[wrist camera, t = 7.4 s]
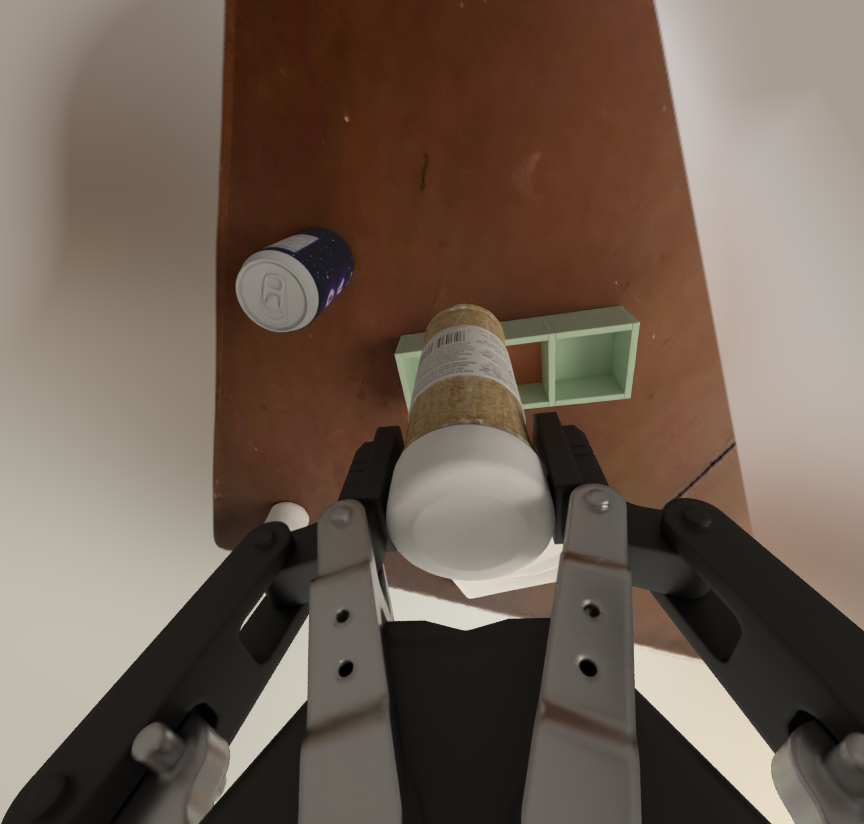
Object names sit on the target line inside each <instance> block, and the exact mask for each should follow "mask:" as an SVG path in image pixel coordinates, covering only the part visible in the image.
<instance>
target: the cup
mask: <svg viewBox="0 0 864 824" xmlns="http://www.w3.org/2000/svg"><path fill="white" fill-rule="evenodd" d="M272 521H280V522H284V523H285V524H287V525H288V527H289V529H290V531H293V530H296V529H299V528H303V527H306V526H307V525H308V522H309V517H308V514H307V512H306V510H305V509H304V508H303V507H301V506H300V505H297V504H295V503H292V502H280V503H278V504H276V505H274V506H273V507H272V509H271V511H270V513H269V515H268V517H267V519H266V521H265V522H264V523H267V522H272ZM263 595H266V594H265V593H264V594H263Z"/></svg>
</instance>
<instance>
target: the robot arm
mask: <svg viewBox="0 0 864 824" xmlns="http://www.w3.org/2000/svg"><path fill="white" fill-rule="evenodd" d="M404 446H405V445H404V441H403V437H402V433H401V429H400V427H399V426H389V427H379V428H378V429H377V431H376V434H375V438H374V441H373V442H365V443H364V444H363V445H362V446H361V447H360V448H359V449H358V450H357V451H356V453H355V456H354V458H353V461H352V464H351V467H350V469H349V473H348V475H347V477H346V480H345V483H344V485H343V488H342V491H341V494H340V496H339V499H338V502H335V503H333V504H331V505H330V506H328V507H327V508H326V509H325V510H324V511H323V512H322V513H321V514H320V516H319V518H318V522H317V523H314V524H312V525H309V526H306V527H303V528H299V529H296V530H293V531H290V529H289V527H288V525H287V524H285V523H284V522H280V521H272V522H267V523H264V524H262V525H260V526H258V527H256V528H255V529H253V530H252V531H251V532H250V533H248V534H247V535H246V537H245V538H244V539H243V540H242V541H241V542H240V543H239V544H238V546H237V547H236V548H235V549H234V550H233V551H232V552H231V553H230V555H229V556H228V557H227V558H226V559H225V560H224V561H223V563H222V564H221V565H220V566H219V567H218V568H217V569H216V570H215V572H214V573H213V574H212V575H211V576H210V577H209V578H208V579H207V581H206V582H205V583H204V584H203V585H202V586H201V587H200V588H199V590H198V591H197V592H196V593H195V594H194V595H193V596H192V597H191V599H190V600H189V601H188V602H187V603H186V604H185V605H184V607H183V608H182V609H181V610H180V611H179V612H178V613H177V614H176V616H175V617H174V618H173V619H172V620H171V621H170V622H169V623H168V625H167V626H166V627H165V628H164V629H163V630H162V632H160V634H159V635H158V636H157V637H156V638H155V639H154V640H153V642H152V643H151V644H150V645H149V646H148V647H147V648H146V649H145V651H144V652H143V653H142V654H141V655H140V656H139V657H138V658H137V660H136V661H135V662H134V663H133V664H132V665H131V666H130V667H129V669H128V670H127V671H126V672H125V673H124V674H123V675H122V676H121V678H120V679H119V680H118V681H117V682H116V683H115V684H114V685H113V687H112V688H111V689H110V690H109V691H108V692H107V693H106V695H105V696H104V697H103V698H102V699H101V700H100V701H99V702H98V704H97V705H96V706H95V707H94V708H93V709H92V710H91V711H90V713H89V714H88V715H87V716H86V717H85V718H84V719H83V720H82V722H81V723H80V724H79V725H78V726H77V727H76V728H75V730H74V731H73V732H72V733H71V734H70V735H69V736H68V738H67V739H66V740H65V741H64V742H63V743H62V744H61V746H59V748H58V749H57V750H56V751H55V752H54V753H53V754H52V756H51V757H50V758H49V759H48V760H47V761H46V762H45V763H44V765H43V766H42V767H41V768H40V769H39V770H38V771H37V773H36V774H35V775H34V776H33V777H32V778H31V779H30V780H29V781H28V783H27V784H26V785H25V786H24V787H23V789H22V790H21V791H20V792H19V794H18V795H17V797H16V798H15V799H14V801H13V802H12V804H11V806H10V807H9V809H8V811H7V812H6V814H5V816H4V818H3V821H2V823H1V824H771V823H770V822H769V821H768V820H767V819H766V818H765V817H764V816H763V815H762V814H761V813H760V812H759V811H758V810H757V809H756V808H755V807H754V806H753V805H752V804H751V803H750V802H749V801H748V800H747V799H746V798H745V797H744V796H743V795H742V794H741V793H740V792H739V791H738V790H737V789H736V788H735V787H734V786H733V785H732V784H731V783H730V782H729V781H728V780H727V779H726V778H725V777H724V776H723V775H722V774H721V773H720V772H719V771H718V770H717V769H716V768H715V767H714V766H713V765H712V764H711V763H710V762H709V761H708V760H707V759H706V758H705V757H704V756H703V755H702V754H701V753H700V752H699V751H698V750H697V749H696V748H695V747H694V746H693V745H692V744H691V743H690V742H688V740H687V739H686V738H685V737H684V736H683V735H682V734H681V733H680V732H679V731H678V730H677V729H675V727H673V725H672V724H671V723H670V722H669V721H668V720H667V719H666V718H665V717H664V716H663V715H662V714H661V713H660V712H659V711H658V710H657V709H656V708H655V707H653V705H651V704H650V703H649V701H648V700H647V699H646V698H644V697H643V696H642V695H641V694H640V693H639V692H638V691H637V690H636V689H635V684H634V683H635V680H634V643H633V606H632V586H635V587H639V588H643V589H647V590H650V592H651V593H652V595H653V596H654V597H655V599H656V600H657V601H658V603H659V604H660V605H661V606H662V608H663V609H664V610H665V612H666V613H667V614H668V616H669V617H670V618H671V619H672V621H673V622H674V623H675V625H676V626H677V627H678V628H679V630H680V631H681V632H682V634H683V635H684V636H685V638H686V639H687V640H688V641H689V643H690V644H691V645H692V647H693V648H694V649H695V651H696V652H697V653H698V654H699V656H700V657H701V658H702V660H703V661H704V662H705V664H706V665H707V666H708V667H709V669H710V670H711V671H712V673H713V674H714V675H715V677H716V678H717V679H718V680H719V682H720V683H721V684H722V685H723V687H724V688H725V689H726V691H727V692H728V693H729V695H730V696H731V697H732V698H733V700H734V701H735V702H736V704H737V705H738V706H739V708H740V709H741V710H742V711H743V713H744V714H745V715H746V717H747V718H748V719H749V721H750V722H751V723H752V725H753V726H754V727H755V728H756V730H757V731H758V732H759V734H760V735H761V736H762V737H763V739H764V740H765V741H766V743H767V744H768V745H769V747H770V748H771V749H772V750H773V752H774V753H775V755H774V757H773V760H772V764H771V772H772V778H773V782H774V785H775V787H776V790H777V792H778V794H779V796H780V798H781V800H782V802H783V803H784V805H785V807H786V808H787V810H788V812H789V813H790V815H791V817H792V819H793V821H794V823H795V824H864V631H863V630H862V629H861V628H859V627H858V626H857V625H856V624H855V623H853V622H852V621H851V620H850V619H849V618H848V617H846V616H845V615H844V614H843V613H842V612H840V611H839V610H838V609H837V608H836V607H834V606H833V605H832V604H831V603H830V602H829V601H827V600H826V599H825V598H824V597H822V596H821V595H820V594H819V593H818V592H817V591H815V590H814V589H813V588H812V587H811V586H809V585H808V584H807V583H806V582H805V581H803V580H802V579H801V578H800V577H799V576H798V575H796V574H795V573H794V572H793V571H792V570H790V569H789V568H788V567H787V566H786V565H785V564H783V563H782V562H781V561H780V560H779V559H778V558H776V557H775V556H774V555H773V554H771V553H770V552H769V551H768V550H767V549H766V548H764V547H763V546H762V545H761V544H760V543H759V542H757V541H756V540H755V539H754V538H753V537H751V536H750V535H749V534H748V533H747V532H745V531H744V530H743V529H742V528H741V527H740V526H738V525H737V524H736V523H735V522H734V521H732V520H731V519H730V518H729V517H728V516H726V515H725V514H724V513H723V512H722V511H720V510H719V509H718V508H716V507H714V506H713V505H711V504H709V503H706V502H703V501H700V500H696V499H691V498H679V499H675V500H672V501H670V502H668V503H667V504H666V505H665V507H664V509H663V510H658V509H653V508H647V507H641V506H637V505H634V504H631V503H629V502H626V501H625V499H624V497H623V496H622V495H621V494H620V493H619V492H618V491H616V490H615V489H613V488H611V487H609V485H608V483H607V481H606V479H605V476H604V474H603V472H602V470H601V468H600V466H599V464H598V462H597V459H596V457H595V455H594V454H593V451H592V449H591V447H590V446H589V442H588V440H587V438H586V436H585V434H584V433H583V432H582V431H581V430H579V429H578V428H577V427H575V426H574V425H568V426H561V423H560V420H559V418H558V415H557V413H556V412H548V413H537V414H533V451H534V452H535V453H536V454H537V456H538V457H539V459H540V461H541V463H542V465H543V467H544V470H545V474H546V477H547V481H548V484H549V488H550V491H551V496H552V500H553V504H554V508H555V519H556V525H555V529H554V533H553V540H554V544H563V550H562V552H561V554H560V559H559V566H558V573H557V579H556V586H555V593H554V600H553V607H552V614H551V618H524V619H506V620H503V621H500V622H496V623H493V624H489V625H486V626H482V627H479V628H476V629H472V630H468V631H464V630H459V629H455V628H451V627H447V626H443V625H440V624H436V623H431V622H428V621H394V617H393V611H392V606H391V601H390V595H389V589H388V584H387V578H386V573H385V568H384V565H383V561H384V556H385V552H386V551H396V547H395V546H394V544H393V542H392V541H391V538H390V536H389V533H388V531H387V526H386V509H387V502H388V497H389V491H390V486H391V481H392V476H393V472H394V468H395V466H396V463H397V462H398V460H399V458H400V456H401V453H402V451H403V450H404ZM264 593H265V594H266V596H265V597H264V599H263V600H262V601H261V603H260V604H259V606H258V607H257V608H256V610H255V611H254V612H253V614H252V615H251V617H250V618H249V620H248V621H247V622H246V624H245V625H244V626H243V628H242V629H241V626H242V624H243V622H244V620H245V619H246V617H247V616H248V615H249V613H250V612H251V611H252V609H253V608H254V606H255V605H256V604H257V602H258V601H259V600H260V598H261V597H262V595H263V594H264ZM308 615H309V648H308V700H307V701H306V702H305V703H304V704H303V705H302V706H301V707H300V709H299V710H298V711H297V712H296V713H295V714H294V716H293V717H292V718H291V719H290V720H289V721H288V722H287V723H286V725H285V726H284V727H283V728H282V729H281V730H280V731H279V733H278V734H277V735H276V736H275V737H274V738H273V739H272V740H271V742H270V743H269V744H268V745H267V746H266V747H265V748H264V750H263V751H262V752H261V753H260V754H259V755H258V756H257V758H256V759H255V760H254V761H253V762H252V763H251V764H250V765H249V767H248V768H247V769H246V770H245V771H244V772H243V773H242V775H241V776H240V777H239V778H238V779H237V780H236V781H235V782H234V784H233V785H232V786H231V787H230V788H229V789H228V790H227V792H226V793H225V794H224V795H223V796H222V797H221V798H220V800H219V801H218V802H217V803H216V804H215V805H214V802H215V801H216V800H217V799H218V798H219V797H220V796H221V794H222V792H223V790H224V787H225V785H226V773H227V770H228V766H229V760H230V750H229V745H230V744H231V742H232V741H233V739H234V737H235V736H236V734H237V732H238V731H239V729H240V727H241V726H242V724H243V722H244V721H245V719H246V717H247V716H248V714H249V712H250V711H251V709H252V708H253V706H254V704H255V703H256V701H257V699H258V698H259V696H260V694H261V693H262V691H263V689H264V688H265V686H266V684H267V683H268V681H269V679H270V678H271V676H272V674H273V673H274V671H275V669H276V667H277V666H278V664H279V663H280V661H281V659H282V658H283V656H284V654H285V653H286V651H287V649H288V648H289V646H290V644H291V643H292V641H293V639H294V638H295V636H296V635H297V633H298V631H299V630H300V628H301V626H302V625H303V623H304V621H305V620H306V618H307V616H308ZM240 629H241V630H240Z"/></svg>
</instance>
